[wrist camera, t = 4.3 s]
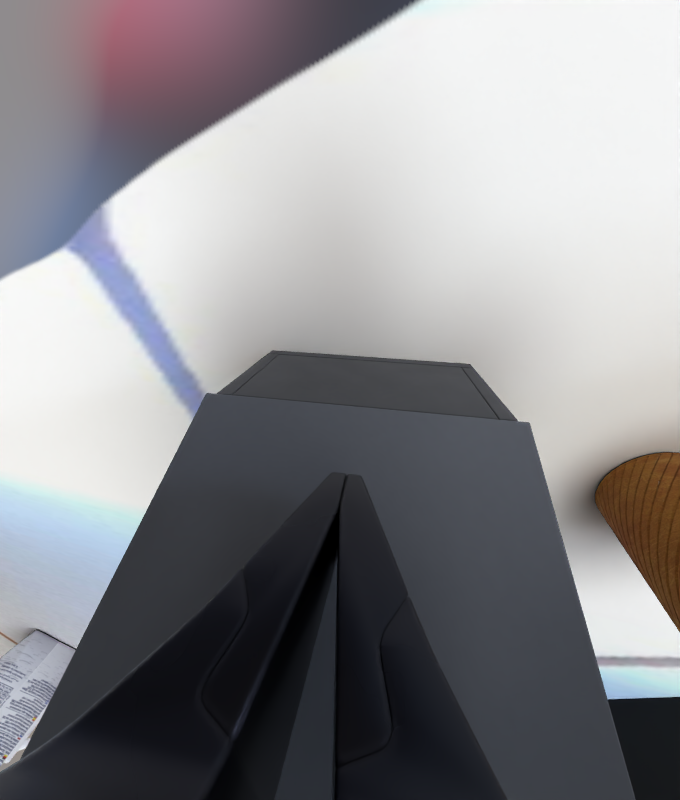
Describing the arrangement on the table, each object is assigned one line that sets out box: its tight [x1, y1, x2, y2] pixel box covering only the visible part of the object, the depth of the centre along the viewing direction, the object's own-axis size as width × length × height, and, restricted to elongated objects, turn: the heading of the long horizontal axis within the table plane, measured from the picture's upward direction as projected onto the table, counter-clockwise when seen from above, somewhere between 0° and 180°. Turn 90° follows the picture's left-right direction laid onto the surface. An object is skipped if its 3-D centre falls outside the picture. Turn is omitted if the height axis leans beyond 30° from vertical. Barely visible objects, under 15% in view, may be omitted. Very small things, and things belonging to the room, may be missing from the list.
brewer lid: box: [20, 393, 636, 800], centre depth 7 cm, size 14×12×1 cm
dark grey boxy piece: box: [217, 351, 518, 422], centre depth 17 cm, size 13×12×7 cm
